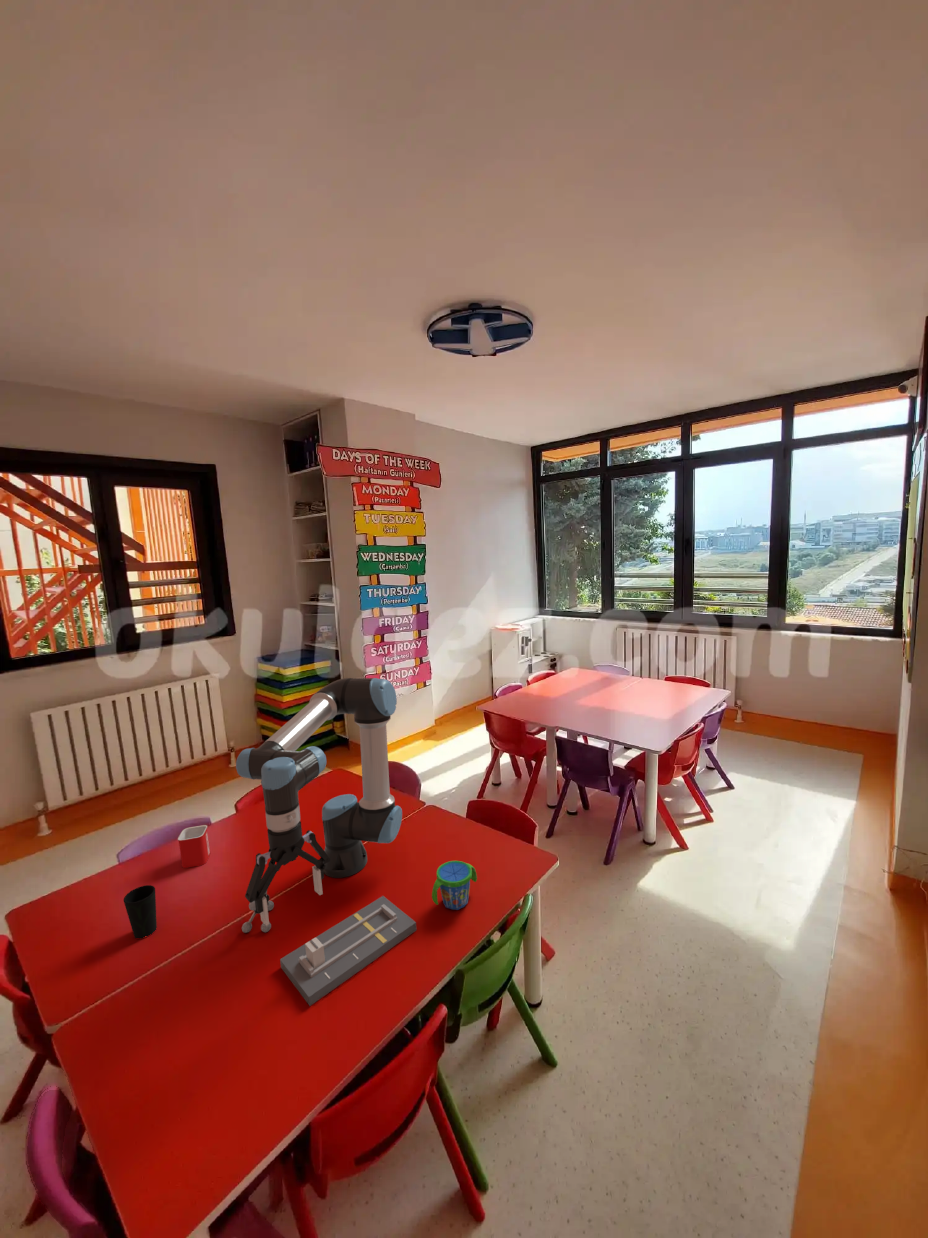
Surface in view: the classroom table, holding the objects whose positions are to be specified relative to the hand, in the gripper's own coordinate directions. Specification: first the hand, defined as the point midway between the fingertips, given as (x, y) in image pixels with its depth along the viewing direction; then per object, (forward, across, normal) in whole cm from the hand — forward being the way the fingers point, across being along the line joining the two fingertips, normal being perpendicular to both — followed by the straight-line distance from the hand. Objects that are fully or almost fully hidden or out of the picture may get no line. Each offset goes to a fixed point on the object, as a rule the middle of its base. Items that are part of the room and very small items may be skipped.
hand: (293, 907), depth 120 cm
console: (+21, +15, +1) cm, 26 cm away
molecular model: (+22, +3, +30) cm, 37 cm away
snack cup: (+21, +46, -8) cm, 51 cm away
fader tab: (+19, +5, +1) cm, 20 cm away
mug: (+21, 0, +79) cm, 82 cm away
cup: (+22, -22, +52) cm, 60 cm away
